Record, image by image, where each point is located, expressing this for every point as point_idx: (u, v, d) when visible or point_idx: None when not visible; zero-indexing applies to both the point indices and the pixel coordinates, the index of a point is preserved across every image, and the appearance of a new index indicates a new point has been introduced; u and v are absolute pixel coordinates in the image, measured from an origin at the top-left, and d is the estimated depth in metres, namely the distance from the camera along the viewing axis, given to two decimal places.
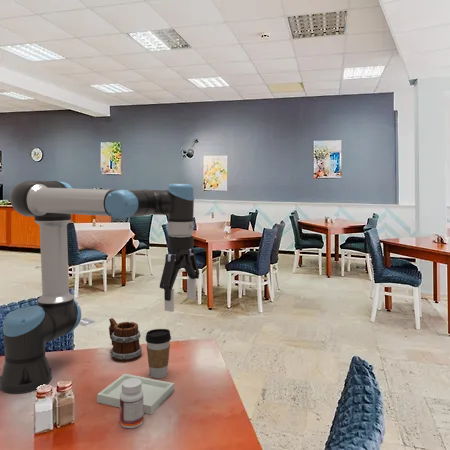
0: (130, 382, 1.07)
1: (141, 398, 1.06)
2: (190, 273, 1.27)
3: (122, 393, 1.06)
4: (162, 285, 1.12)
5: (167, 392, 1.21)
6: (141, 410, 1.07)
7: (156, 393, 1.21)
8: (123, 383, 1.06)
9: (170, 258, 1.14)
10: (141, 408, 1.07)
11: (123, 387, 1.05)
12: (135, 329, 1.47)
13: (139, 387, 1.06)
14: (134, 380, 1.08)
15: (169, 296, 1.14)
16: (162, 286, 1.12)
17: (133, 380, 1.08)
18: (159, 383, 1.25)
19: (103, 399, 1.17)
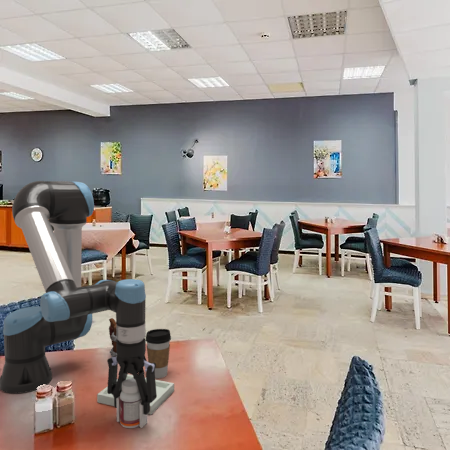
0: (130, 382, 1.07)
1: None
2: None
3: (122, 393, 1.06)
4: None
5: (167, 392, 1.21)
6: None
7: (156, 393, 1.21)
8: (123, 383, 1.06)
9: None
10: None
11: (123, 387, 1.05)
12: None
13: None
14: (134, 380, 1.08)
15: (115, 403, 1.08)
16: None
17: (133, 380, 1.08)
18: (159, 383, 1.25)
19: (103, 399, 1.17)
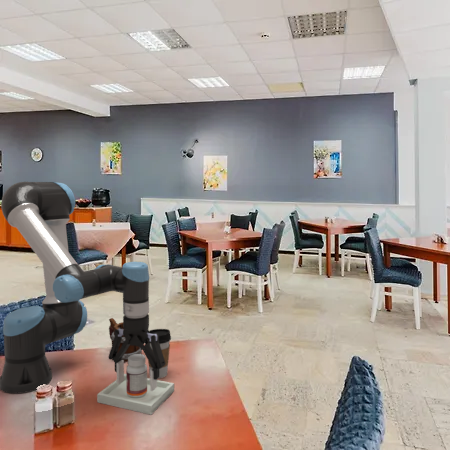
0: (135, 357, 1.20)
1: (145, 371, 1.20)
2: None
3: (128, 367, 1.19)
4: None
5: (167, 392, 1.21)
6: (145, 382, 1.20)
7: (156, 393, 1.21)
8: (129, 358, 1.20)
9: None
10: (145, 380, 1.20)
11: (129, 361, 1.18)
12: None
13: (143, 361, 1.19)
14: (139, 355, 1.21)
15: (115, 368, 1.22)
16: None
17: (138, 355, 1.22)
18: (159, 383, 1.25)
19: (103, 399, 1.17)
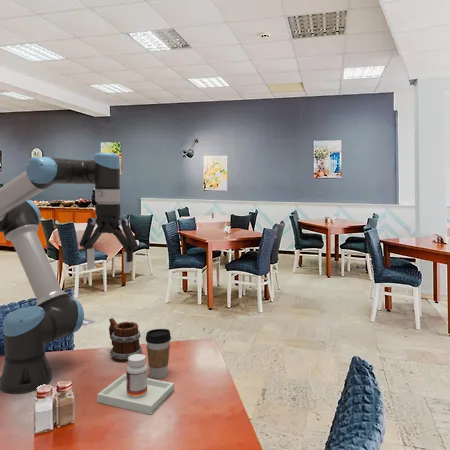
0: (136, 357, 1.20)
1: (145, 371, 1.20)
2: None
3: (128, 366, 1.19)
4: None
5: (167, 392, 1.21)
6: (145, 382, 1.20)
7: (156, 393, 1.21)
8: (129, 358, 1.20)
9: None
10: (145, 380, 1.20)
11: (129, 361, 1.19)
12: (135, 329, 1.47)
13: (143, 361, 1.19)
14: (139, 355, 1.21)
15: (86, 254, 1.28)
16: None
17: (138, 355, 1.22)
18: (159, 383, 1.25)
19: (103, 399, 1.17)
